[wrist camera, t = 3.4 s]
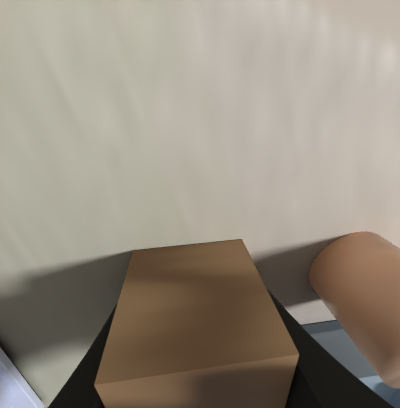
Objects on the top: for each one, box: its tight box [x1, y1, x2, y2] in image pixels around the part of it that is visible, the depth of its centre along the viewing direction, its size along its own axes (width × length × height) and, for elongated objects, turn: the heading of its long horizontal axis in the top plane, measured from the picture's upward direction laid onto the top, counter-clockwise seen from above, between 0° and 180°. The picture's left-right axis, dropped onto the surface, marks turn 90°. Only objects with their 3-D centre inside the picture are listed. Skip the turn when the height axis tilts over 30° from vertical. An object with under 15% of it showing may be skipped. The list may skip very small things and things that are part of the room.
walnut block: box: [94, 239, 299, 408], centre depth 8 cm, size 5×5×5 cm
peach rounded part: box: [309, 232, 400, 389], centre depth 9 cm, size 4×4×4 cm
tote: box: [301, 320, 400, 408], centre depth 15 cm, size 16×13×3 cm
